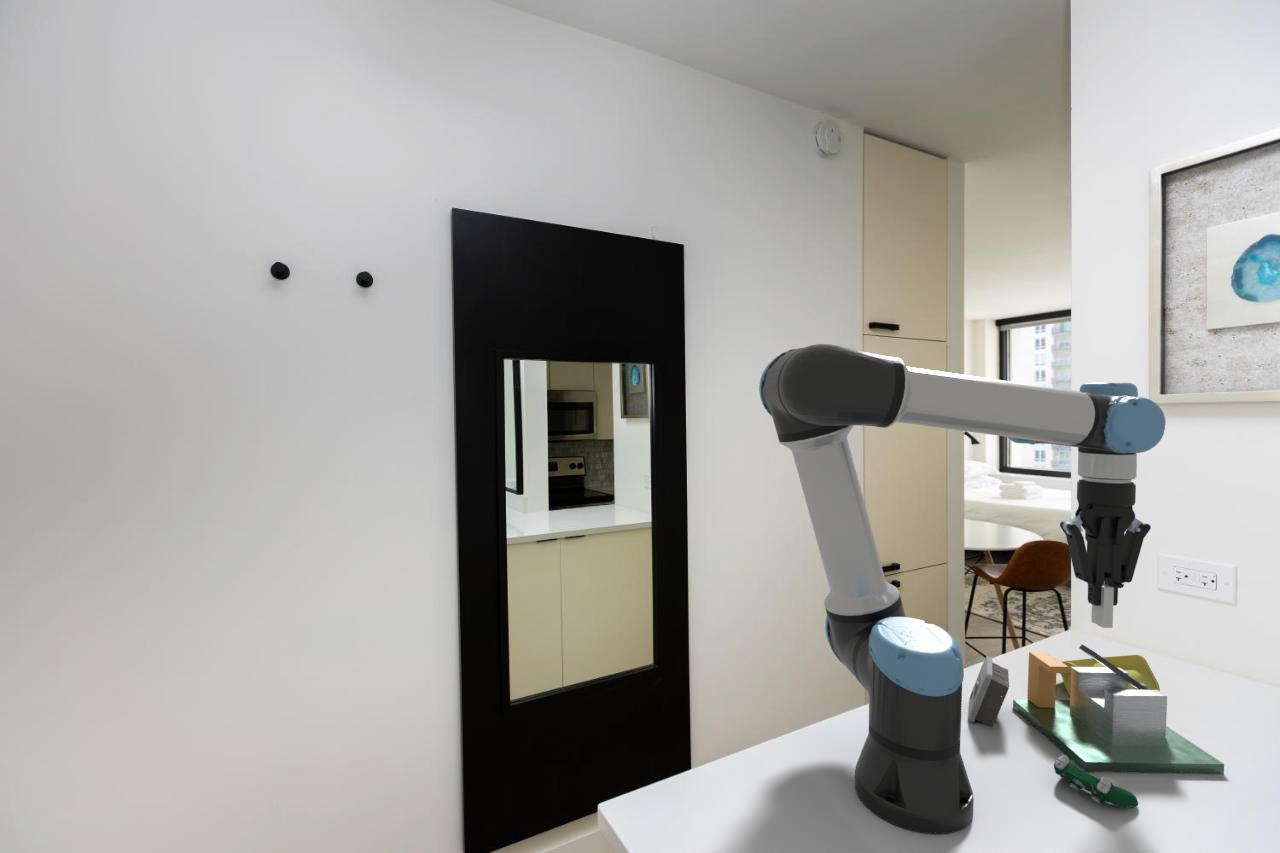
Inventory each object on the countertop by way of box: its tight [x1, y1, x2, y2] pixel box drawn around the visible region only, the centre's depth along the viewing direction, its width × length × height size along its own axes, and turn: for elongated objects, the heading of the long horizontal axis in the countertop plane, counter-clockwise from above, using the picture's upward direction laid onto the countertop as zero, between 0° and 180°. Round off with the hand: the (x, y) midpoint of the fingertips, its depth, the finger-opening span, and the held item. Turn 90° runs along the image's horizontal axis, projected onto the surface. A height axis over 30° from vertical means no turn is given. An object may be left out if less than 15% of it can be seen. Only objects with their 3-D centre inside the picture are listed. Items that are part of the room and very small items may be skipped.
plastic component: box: [1056, 654, 1161, 695], centre depth 118 cm, size 20×7×10 cm
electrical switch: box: [967, 655, 1010, 727], centre depth 109 cm, size 9×5×9 cm, turn 151°
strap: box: [1078, 644, 1148, 690], centre depth 101 cm, size 14×3×1 cm
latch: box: [1026, 651, 1068, 708], centre depth 108 cm, size 3×6×9 cm, turn 178°
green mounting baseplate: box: [1012, 667, 1225, 775], centre depth 102 cm, size 20×19×10 cm
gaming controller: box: [1053, 754, 1139, 808], centre depth 88 cm, size 9×4×6 cm
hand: (1101, 624), depth 101 cm, fingers closed
